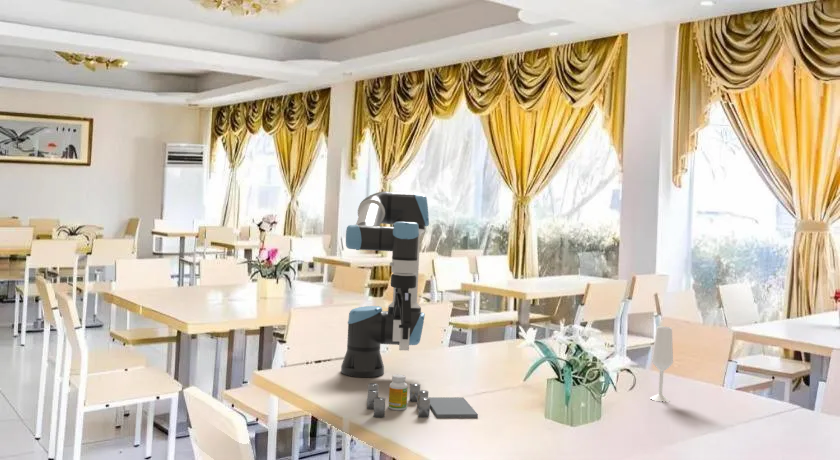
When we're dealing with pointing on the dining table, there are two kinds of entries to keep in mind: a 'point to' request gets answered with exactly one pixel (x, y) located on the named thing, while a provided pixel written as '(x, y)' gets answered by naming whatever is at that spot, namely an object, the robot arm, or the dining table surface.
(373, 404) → the spacer field
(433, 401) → the slate mat
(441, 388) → the dining table surface
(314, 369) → the dining table surface
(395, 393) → the supplement bottle
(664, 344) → the champagne flute
